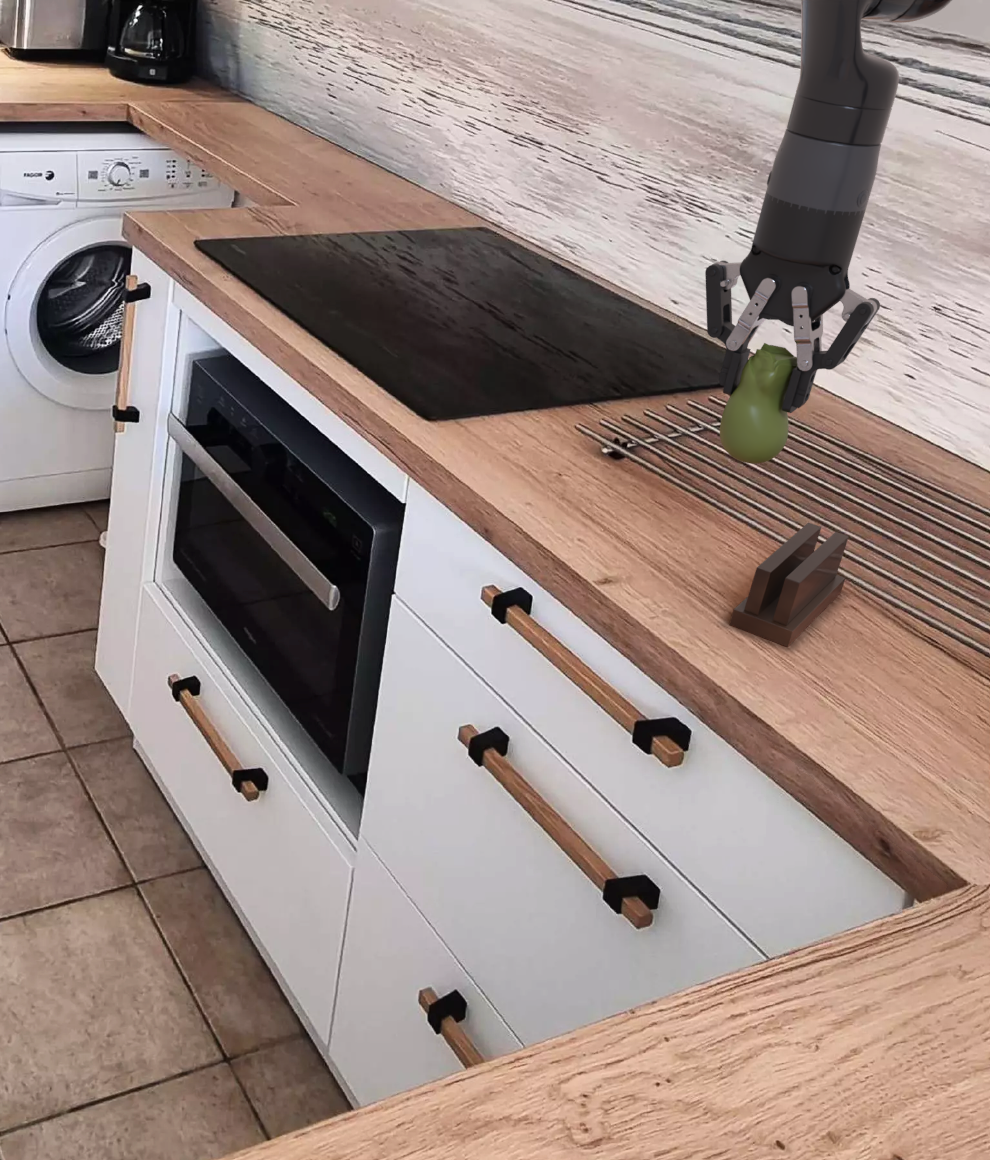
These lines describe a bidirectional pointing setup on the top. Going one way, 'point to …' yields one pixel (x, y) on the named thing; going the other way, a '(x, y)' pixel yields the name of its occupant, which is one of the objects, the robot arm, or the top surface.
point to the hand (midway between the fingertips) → (759, 400)
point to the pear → (759, 407)
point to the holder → (792, 587)
